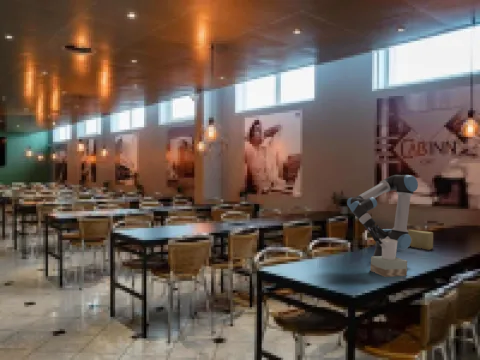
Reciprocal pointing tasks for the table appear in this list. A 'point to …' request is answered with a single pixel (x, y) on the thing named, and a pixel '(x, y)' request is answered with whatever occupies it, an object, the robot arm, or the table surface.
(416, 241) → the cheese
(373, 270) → the bottom block
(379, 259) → the top block
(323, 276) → the table surface
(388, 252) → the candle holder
